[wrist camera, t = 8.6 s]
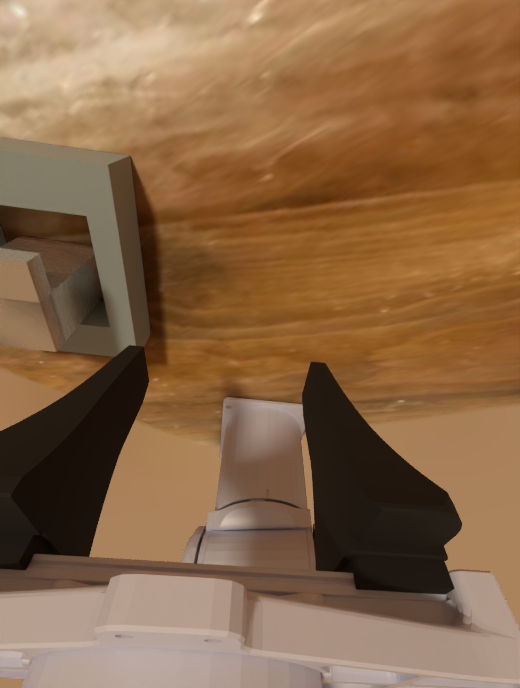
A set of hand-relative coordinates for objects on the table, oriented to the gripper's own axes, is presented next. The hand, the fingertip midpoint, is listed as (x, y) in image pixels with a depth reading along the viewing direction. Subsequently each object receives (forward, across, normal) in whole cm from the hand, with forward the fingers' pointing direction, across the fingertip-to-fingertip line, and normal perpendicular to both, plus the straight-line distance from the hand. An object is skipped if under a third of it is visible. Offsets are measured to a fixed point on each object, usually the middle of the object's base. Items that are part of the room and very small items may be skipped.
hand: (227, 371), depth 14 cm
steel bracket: (+9, +12, 0) cm, 15 cm away
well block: (+9, +12, 0) cm, 15 cm away
